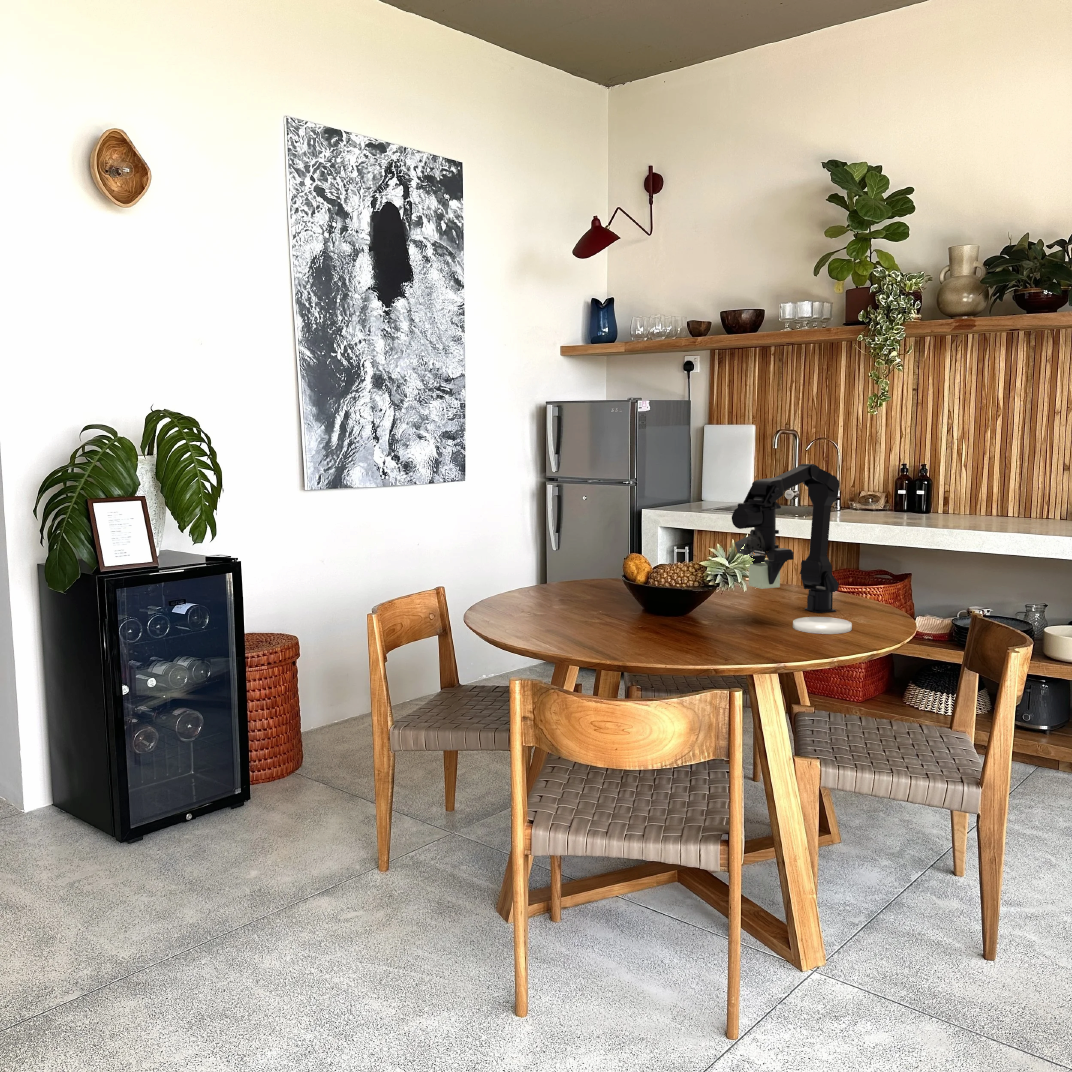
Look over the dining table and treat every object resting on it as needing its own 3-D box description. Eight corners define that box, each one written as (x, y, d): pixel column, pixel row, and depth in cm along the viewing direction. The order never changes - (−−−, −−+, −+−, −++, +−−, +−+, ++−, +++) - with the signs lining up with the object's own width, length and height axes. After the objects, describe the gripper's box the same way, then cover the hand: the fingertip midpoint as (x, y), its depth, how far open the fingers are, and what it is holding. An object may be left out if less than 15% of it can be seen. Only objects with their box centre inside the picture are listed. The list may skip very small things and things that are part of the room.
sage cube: (766, 583, 271) (767, 562, 271) (779, 587, 266) (780, 565, 265) (748, 585, 269) (748, 564, 268) (761, 588, 264) (761, 566, 263)
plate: (826, 620, 269) (827, 615, 269) (863, 630, 255) (864, 625, 255) (781, 625, 263) (781, 619, 263) (816, 636, 249) (816, 630, 249)
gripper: (721, 524, 271) (720, 579, 273) (759, 531, 254) (759, 589, 256) (754, 522, 275) (754, 577, 277) (795, 528, 258) (794, 586, 260)
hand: (764, 582), depth 267 cm, fingers closed on sage cube, 6 cm apart
